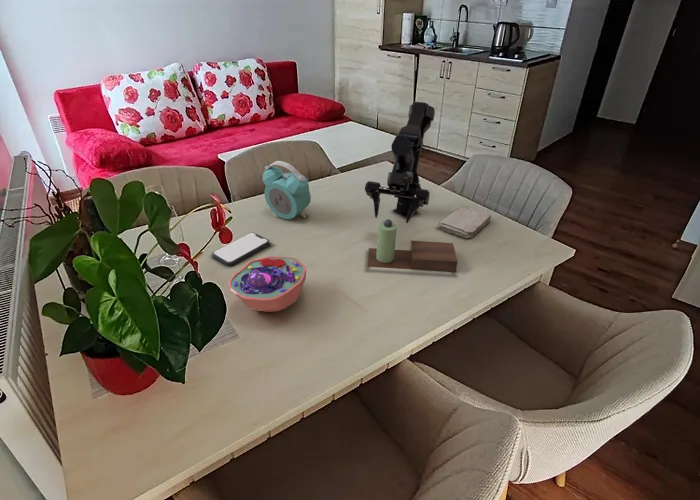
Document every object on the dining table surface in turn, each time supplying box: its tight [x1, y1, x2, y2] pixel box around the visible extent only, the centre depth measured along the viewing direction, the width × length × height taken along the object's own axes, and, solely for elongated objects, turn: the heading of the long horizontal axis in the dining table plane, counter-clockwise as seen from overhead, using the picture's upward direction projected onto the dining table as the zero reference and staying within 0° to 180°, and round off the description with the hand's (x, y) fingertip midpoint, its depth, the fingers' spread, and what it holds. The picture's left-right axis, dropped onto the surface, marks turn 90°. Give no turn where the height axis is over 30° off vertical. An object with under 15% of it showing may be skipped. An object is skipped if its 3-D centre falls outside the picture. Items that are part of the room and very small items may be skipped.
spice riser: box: [367, 240, 459, 273], centre depth 127 cm, size 10×25×5 cm, turn 86°
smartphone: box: [212, 232, 270, 267], centre depth 131 cm, size 9×2×16 cm
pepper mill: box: [376, 218, 398, 263], centre depth 124 cm, size 5×5×13 cm
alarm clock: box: [262, 160, 312, 220], centre depth 146 cm, size 17×10×20 cm, turn 58°
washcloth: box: [437, 206, 492, 239], centre depth 148 cm, size 12×18×3 cm, turn 142°
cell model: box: [228, 256, 307, 313], centre depth 109 cm, size 17×20×11 cm
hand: (391, 220), depth 126 cm, fingers open, 9 cm apart
